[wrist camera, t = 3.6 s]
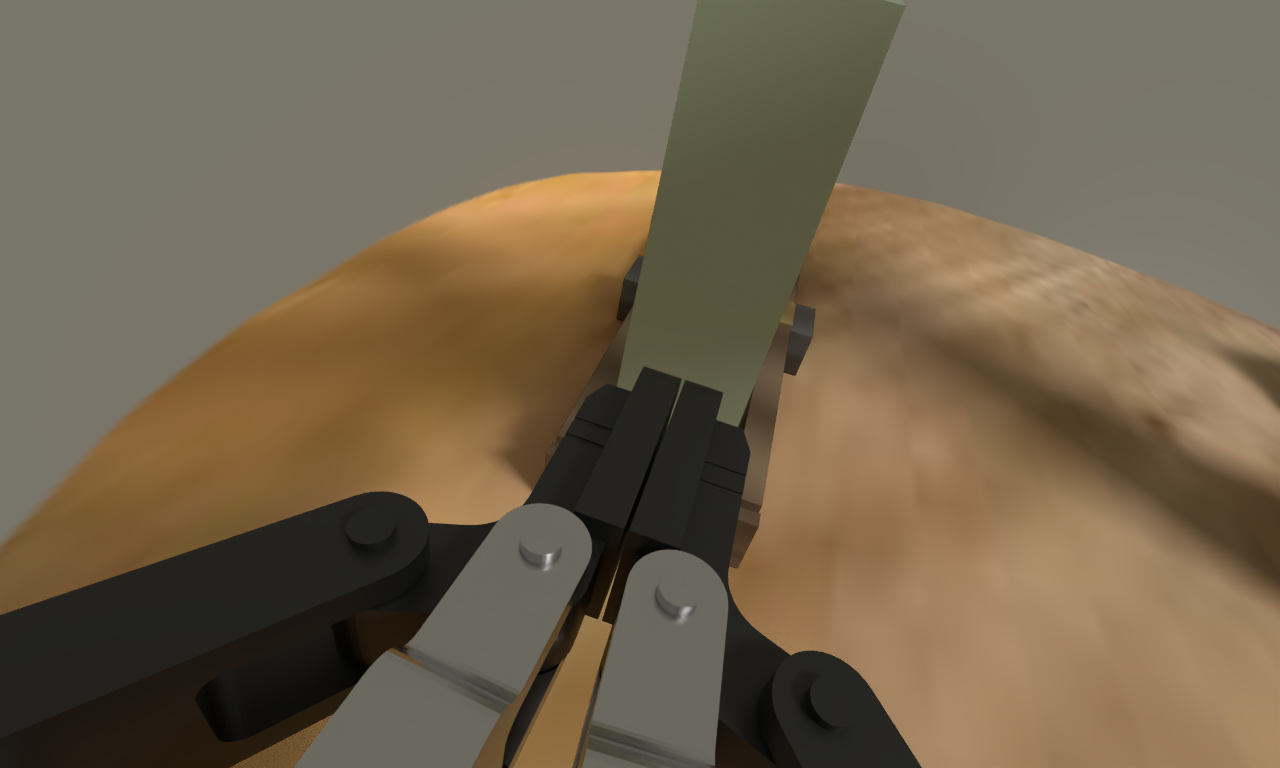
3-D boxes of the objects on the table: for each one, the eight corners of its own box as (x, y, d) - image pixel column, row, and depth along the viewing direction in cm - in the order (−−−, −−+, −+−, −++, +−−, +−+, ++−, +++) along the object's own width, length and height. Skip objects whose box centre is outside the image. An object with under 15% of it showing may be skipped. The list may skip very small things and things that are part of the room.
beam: (768, 579, 23) (793, 535, 21) (512, 488, 24) (516, 439, 22) (807, 287, 41) (822, 251, 40) (661, 243, 42) (670, 206, 41)
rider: (706, 520, 23) (915, 11, 13) (589, 480, 24) (693, -45, 13) (731, 423, 28) (899, -12, 17) (632, 390, 28) (735, -53, 18)
